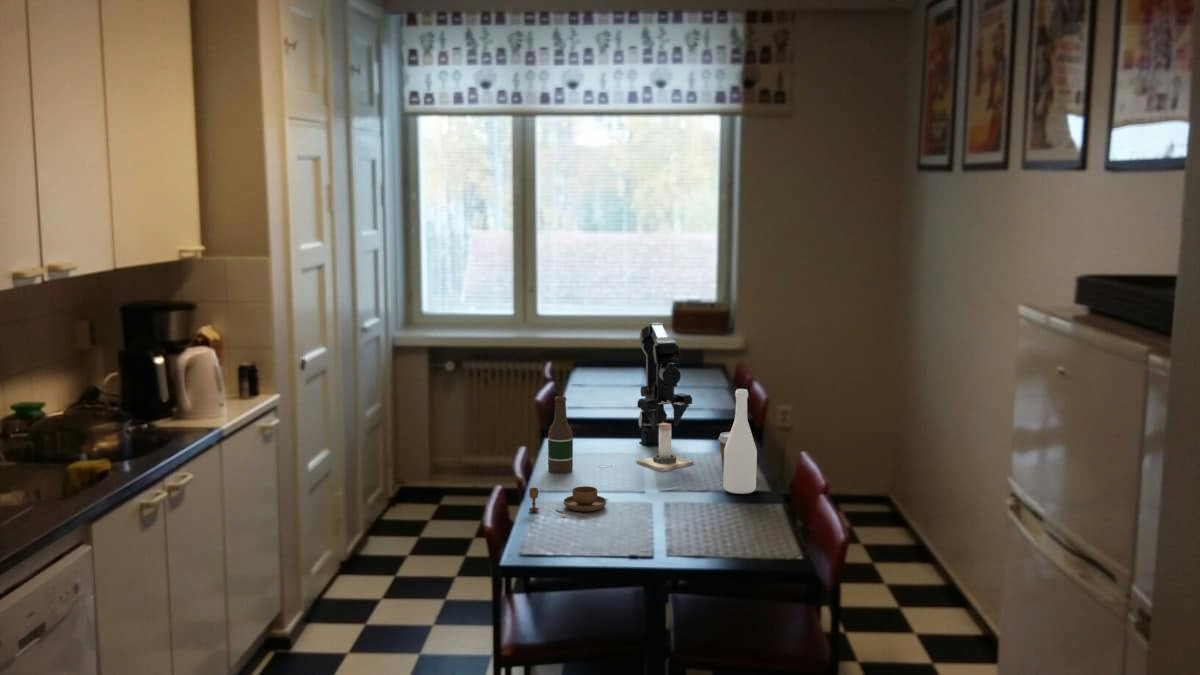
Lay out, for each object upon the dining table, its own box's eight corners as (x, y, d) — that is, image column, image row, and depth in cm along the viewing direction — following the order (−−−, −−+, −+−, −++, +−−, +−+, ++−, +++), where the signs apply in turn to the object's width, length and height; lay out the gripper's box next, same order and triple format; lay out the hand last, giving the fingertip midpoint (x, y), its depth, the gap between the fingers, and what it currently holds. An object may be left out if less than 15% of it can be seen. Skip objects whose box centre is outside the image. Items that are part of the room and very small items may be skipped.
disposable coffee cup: (712, 470, 319) (712, 433, 318) (737, 467, 323) (738, 430, 322) (728, 477, 311) (729, 439, 309) (754, 474, 315) (755, 436, 313)
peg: (665, 458, 328) (665, 422, 326) (673, 461, 324) (674, 424, 323) (656, 460, 325) (656, 424, 324) (664, 463, 322) (664, 426, 321)
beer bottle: (574, 469, 320) (574, 394, 317) (571, 475, 312) (571, 399, 309) (549, 468, 320) (550, 394, 318) (546, 474, 313) (546, 398, 310)
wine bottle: (724, 494, 292) (727, 392, 288) (721, 485, 302) (723, 386, 298) (757, 494, 292) (760, 392, 288) (753, 485, 301) (756, 387, 298)
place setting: (596, 517, 271) (596, 496, 270) (526, 511, 276) (526, 490, 276) (613, 499, 288) (613, 479, 287) (546, 494, 293) (546, 474, 293)
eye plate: (668, 458, 334) (669, 449, 334) (693, 466, 324) (693, 456, 324) (636, 464, 326) (636, 455, 325) (660, 472, 316) (660, 463, 316)
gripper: (671, 373, 334) (670, 420, 336) (626, 379, 323) (626, 427, 324) (693, 378, 325) (692, 425, 327) (649, 384, 314) (648, 433, 316)
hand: (664, 427), depth 324 cm, fingers open, 9 cm apart
